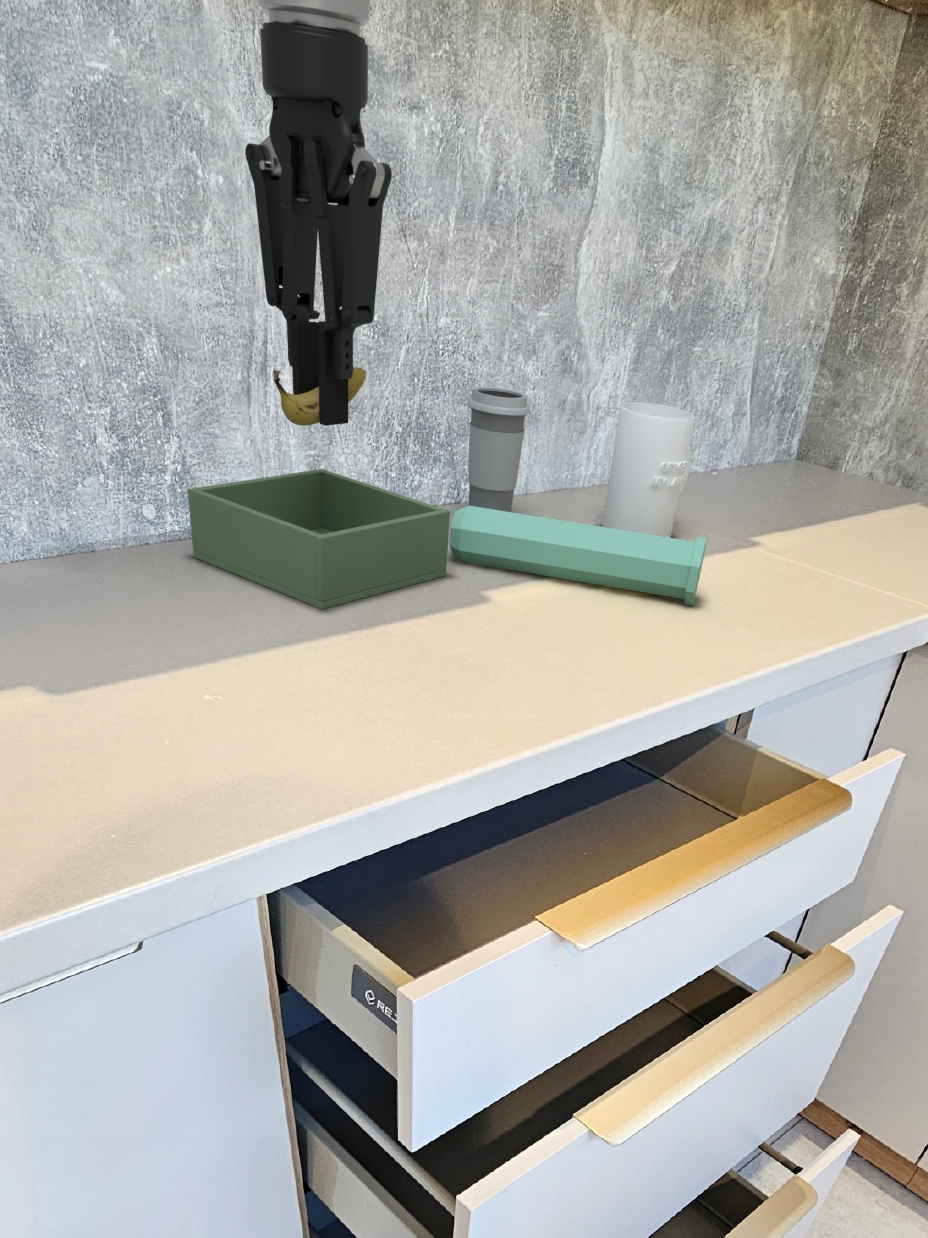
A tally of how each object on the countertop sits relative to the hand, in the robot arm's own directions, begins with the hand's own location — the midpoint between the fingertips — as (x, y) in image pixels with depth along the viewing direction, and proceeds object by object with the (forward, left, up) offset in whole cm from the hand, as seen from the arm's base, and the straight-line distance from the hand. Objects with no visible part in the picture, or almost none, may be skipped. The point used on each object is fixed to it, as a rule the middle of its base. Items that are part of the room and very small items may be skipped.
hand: (321, 419), depth 86 cm
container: (+16, +19, -12) cm, 27 cm away
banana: (0, 0, -1) cm, 1 cm away
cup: (-2, +28, -12) cm, 31 cm away
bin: (0, 0, -12) cm, 12 cm away
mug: (+11, +41, -12) cm, 44 cm away
